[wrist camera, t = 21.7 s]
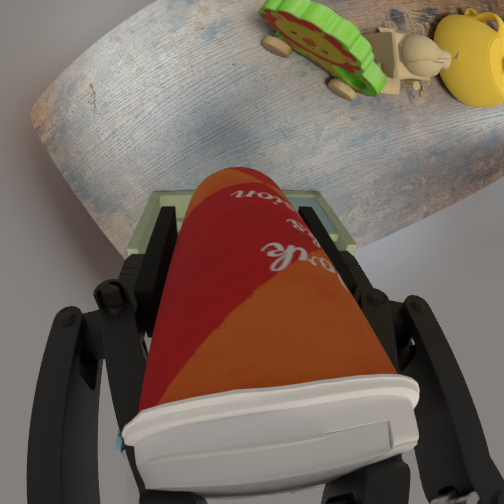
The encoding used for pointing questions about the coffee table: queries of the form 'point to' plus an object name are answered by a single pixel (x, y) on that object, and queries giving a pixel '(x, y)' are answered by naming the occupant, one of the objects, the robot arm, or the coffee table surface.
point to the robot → (406, 58)
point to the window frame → (183, 197)
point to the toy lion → (324, 44)
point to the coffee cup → (261, 358)
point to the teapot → (473, 57)
